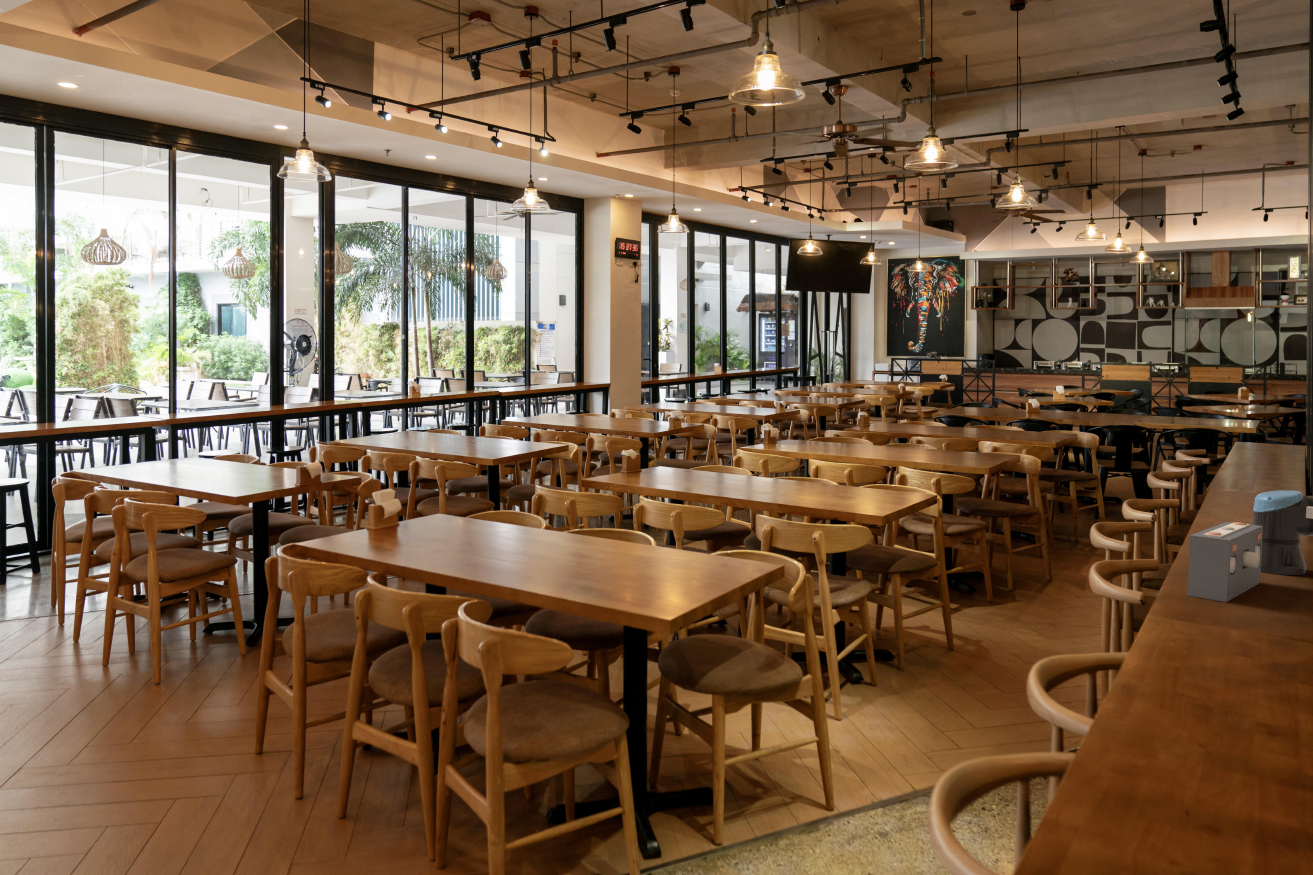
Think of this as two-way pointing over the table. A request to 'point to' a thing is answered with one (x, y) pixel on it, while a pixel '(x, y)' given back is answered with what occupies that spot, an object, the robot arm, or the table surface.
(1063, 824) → the table surface
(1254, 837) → the table surface
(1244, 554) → the button middle
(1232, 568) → the button
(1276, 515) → the robot arm
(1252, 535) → the button panel
